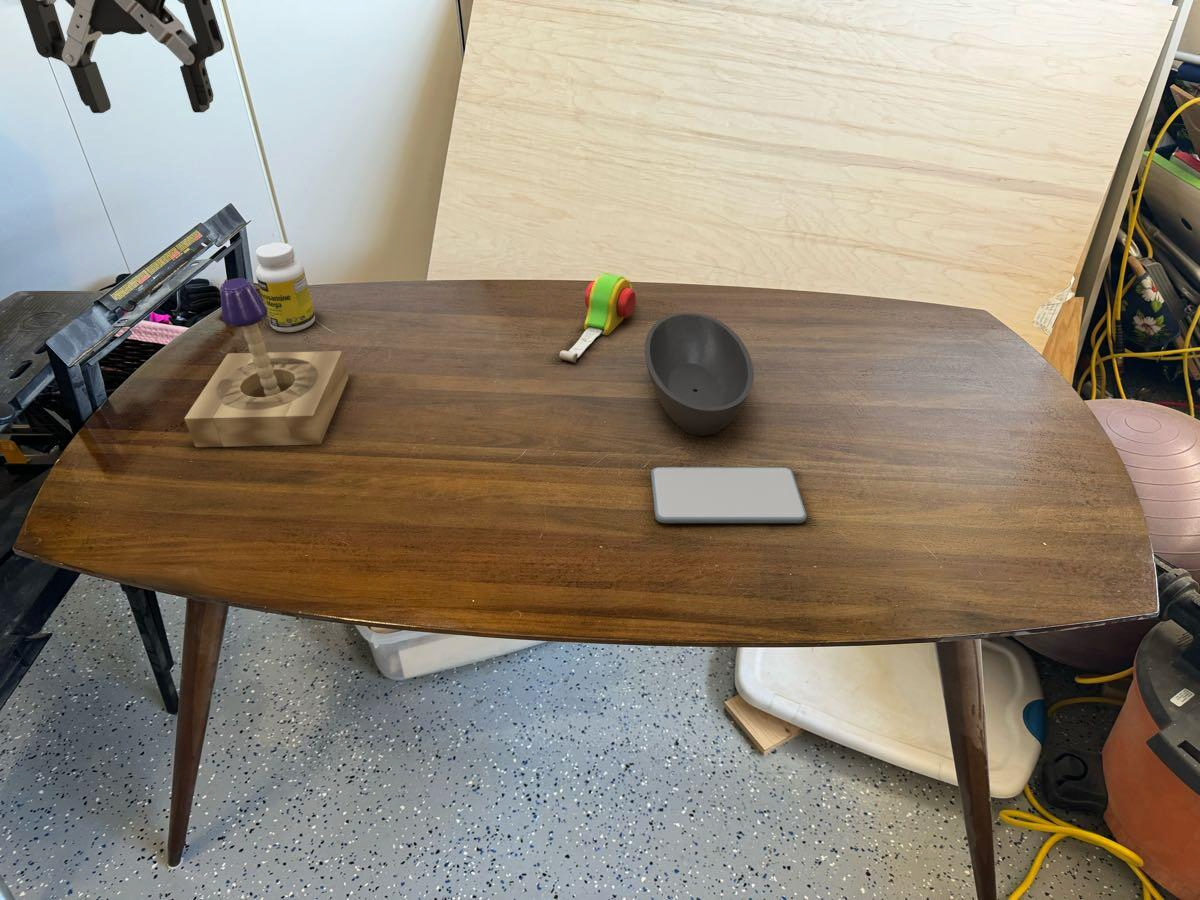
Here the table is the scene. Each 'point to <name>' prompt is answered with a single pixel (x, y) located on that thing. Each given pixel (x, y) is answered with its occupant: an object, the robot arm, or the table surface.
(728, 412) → the bowl
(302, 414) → the socket base
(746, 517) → the smartphone
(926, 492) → the table surface
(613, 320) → the toy measuring tape
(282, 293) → the pill bottle
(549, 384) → the table surface
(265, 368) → the toy lamp
